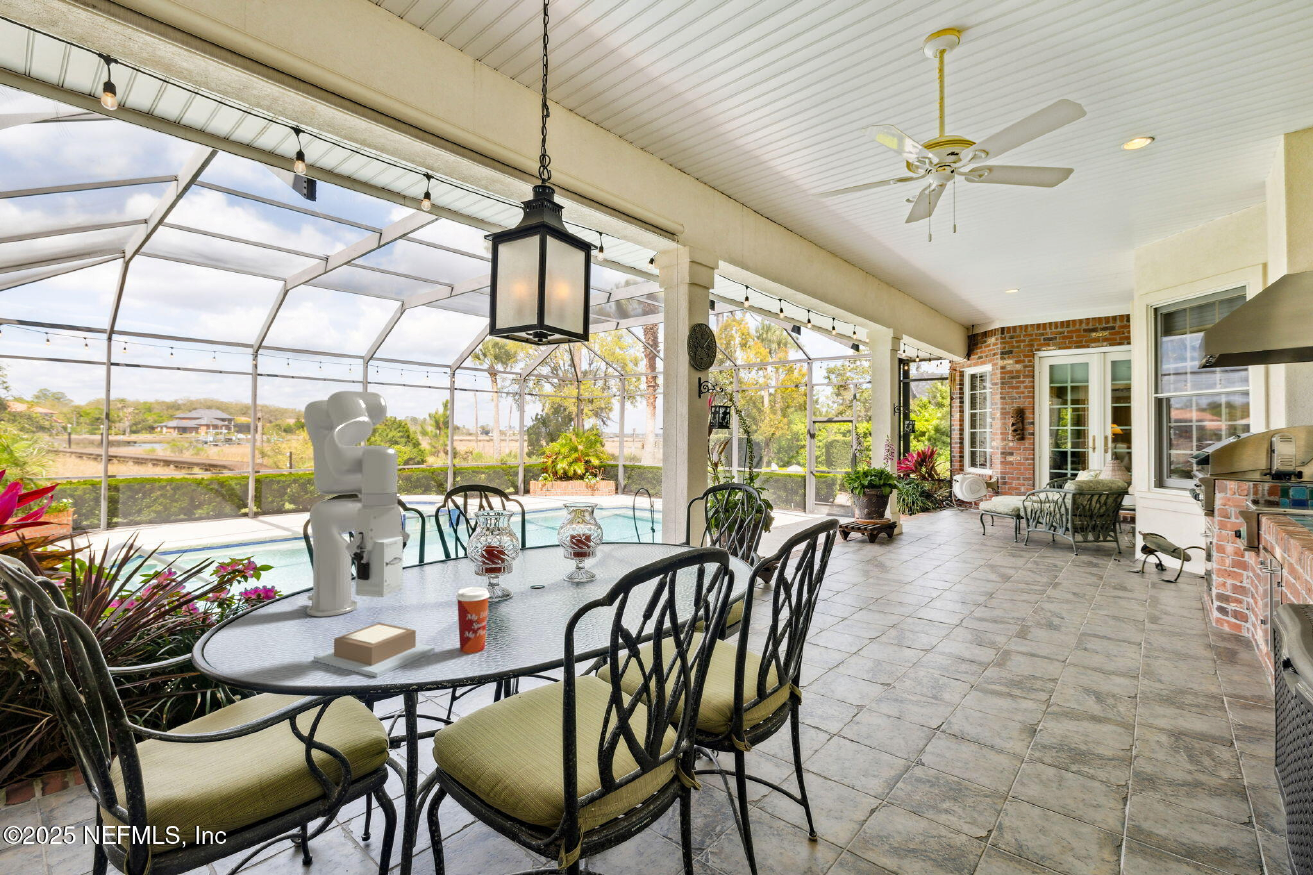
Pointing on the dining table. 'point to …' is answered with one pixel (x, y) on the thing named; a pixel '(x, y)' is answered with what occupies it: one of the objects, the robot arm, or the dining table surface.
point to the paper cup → (472, 618)
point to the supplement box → (382, 569)
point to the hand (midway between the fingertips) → (379, 574)
